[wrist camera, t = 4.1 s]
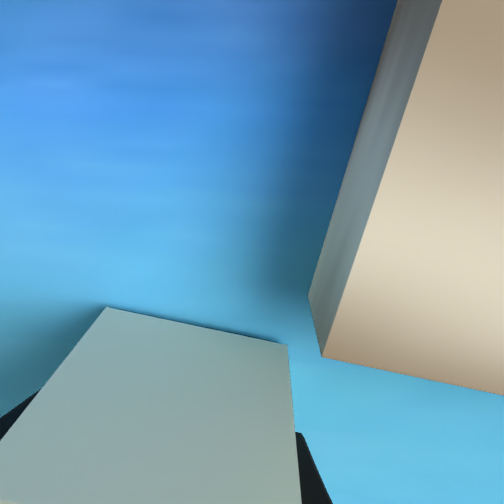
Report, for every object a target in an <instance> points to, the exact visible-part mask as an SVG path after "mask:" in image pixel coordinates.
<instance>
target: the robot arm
mask: <svg viewBox="0 0 504 504" xmlns="http://www.w3.org/2000/svg"><path fill="white" fill-rule="evenodd" d="M40 390H41V389H40ZM40 390H39V391H40ZM39 391H37V392H36V393H34V394H33V395H32V396H30V397H29V398H28V399H26V400H25V401H23V402H22V403H21V404H19V405H18V406H16V407H15V408H14V409H12V410H11V411H10V412H8V413H7V414H5V415H4V416H2V417H1V418H0V441H1V439H2V438H3V437H4V436H5V434H6V433H7V432H8V430H9V429H10V428H11V427H12V425H13V424H14V423H15V422H16V420H17V419H18V418H19V417H20V415H21V414H22V413H23V411H24V410H25V409H26V408H27V406H28V405H29V404H30V403H31V401H32V400H33V399H34V398H35V396H36V395H37V394H38V393H39ZM295 436H296V447H297V458H298V469H299V480H300V491H301V502H302V504H333V503H332V501H331V499H330V497H329V494H328V492H327V490H326V488H325V486H324V483H323V481H322V479H321V477H320V474H319V472H318V470H317V468H316V465H315V463H314V460H313V458H312V456H311V453H310V451H309V448H308V446H307V443H306V441H305V438H304V437H303V435H302V434H301V433H298V432H295Z"/></svg>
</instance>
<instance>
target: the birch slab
mask: <svg viewBox="0 0 504 504" xmlns="http://www.w3.org/2000/svg"><path fill="white" fill-rule="evenodd" d="M308 299H309V303H310V308H311V312H312V317H313V321H314V325H315V330H316V334H317V339H318V343H319V347H320V352H321V356H322V357H324V358H329V359H334V360H339V361H343V362H348V363H353V364H358V365H362V366H367V367H372V368H376V369H381V370H386V371H391V372H395V373H400V374H405V375H409V376H414V377H419V378H424V379H428V380H433V381H438V382H442V383H447V384H452V385H457V386H461V387H466V388H471V389H475V390H480V391H485V392H490V393H494V394H499V395H504V0H398V1H397V4H396V8H395V11H394V14H393V18H392V21H391V24H390V27H389V31H388V34H387V37H386V40H385V44H384V47H383V50H382V54H381V57H380V60H379V63H378V67H377V70H376V73H375V77H374V80H373V83H372V86H371V90H370V93H369V96H368V100H367V103H366V106H365V109H364V113H363V116H362V119H361V122H360V126H359V129H358V132H357V136H356V139H355V142H354V145H353V149H352V152H351V155H350V159H349V162H348V165H347V168H346V172H345V175H344V178H343V181H342V185H341V188H340V191H339V195H338V198H337V201H336V204H335V208H334V211H333V214H332V218H331V221H330V224H329V227H328V231H327V234H326V237H325V240H324V244H323V247H322V250H321V254H320V257H319V260H318V263H317V267H316V270H315V273H314V277H313V280H312V283H311V286H310V290H309V293H308Z"/></svg>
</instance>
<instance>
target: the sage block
mask: <svg viewBox="0 0 504 504" xmlns="http://www.w3.org/2000/svg"><path fill="white" fill-rule="evenodd" d="M0 504H302V502H301V491H300V480H299V469H298V458H297V447H296V436H295V425H294V414H293V403H292V392H291V381H290V370H289V359H288V348H287V345H285V344H280V343H275V342H270V341H266V340H261V339H256V338H251V337H247V336H242V335H237V334H232V333H228V332H223V331H218V330H213V329H209V328H204V327H199V326H194V325H190V324H185V323H180V322H175V321H171V320H166V319H161V318H156V317H152V316H147V315H142V314H137V313H133V312H128V311H123V310H118V309H113V308H109V307H106V308H105V309H104V310H103V312H102V313H101V314H100V315H99V317H98V318H97V319H96V320H95V322H94V323H93V324H92V325H91V327H90V328H89V329H88V331H87V332H86V333H85V334H84V336H83V337H82V338H81V339H80V341H79V342H78V343H77V344H76V346H75V347H74V348H73V350H72V351H71V352H70V353H69V355H68V356H67V357H66V358H65V360H64V361H63V362H62V363H61V365H60V366H59V367H58V368H57V370H56V371H55V372H54V374H53V375H52V376H51V377H50V379H49V380H48V381H47V382H46V384H45V385H44V386H43V387H42V389H41V390H40V391H39V393H38V394H37V395H36V396H35V398H34V399H33V400H32V401H31V403H30V404H29V405H28V406H27V408H26V409H25V410H24V411H23V413H22V414H21V415H20V417H19V418H18V419H17V420H16V422H15V423H14V424H13V425H12V427H11V428H10V429H9V430H8V432H7V433H6V434H5V436H4V437H3V438H2V439H1V441H0Z"/></svg>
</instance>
